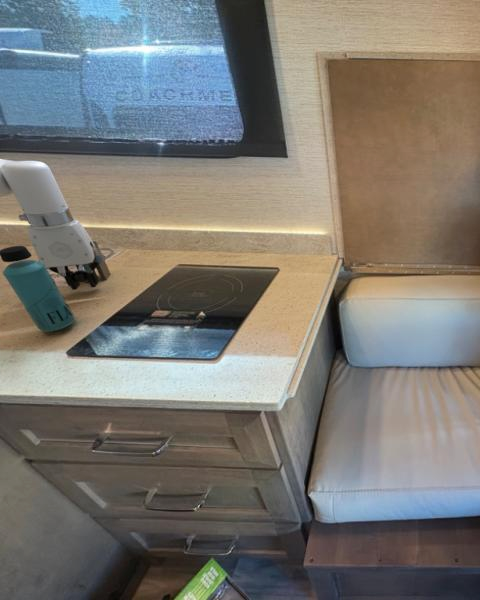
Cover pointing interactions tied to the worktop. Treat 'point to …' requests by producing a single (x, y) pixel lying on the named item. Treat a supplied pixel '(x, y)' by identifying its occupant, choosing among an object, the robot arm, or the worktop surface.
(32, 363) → the worktop surface
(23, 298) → the beverage bottle
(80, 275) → the tap lever
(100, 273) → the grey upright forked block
